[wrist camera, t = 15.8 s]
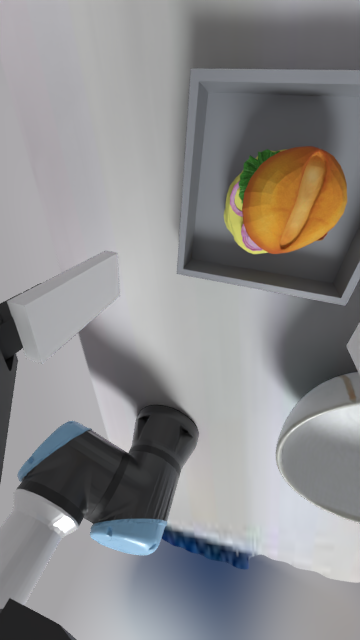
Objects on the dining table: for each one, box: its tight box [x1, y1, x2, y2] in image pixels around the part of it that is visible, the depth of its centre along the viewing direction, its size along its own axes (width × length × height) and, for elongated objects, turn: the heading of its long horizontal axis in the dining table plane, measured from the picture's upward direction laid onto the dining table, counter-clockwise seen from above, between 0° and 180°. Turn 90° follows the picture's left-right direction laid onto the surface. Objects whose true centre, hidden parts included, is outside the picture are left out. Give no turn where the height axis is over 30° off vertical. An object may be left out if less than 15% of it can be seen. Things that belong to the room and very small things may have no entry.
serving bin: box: [177, 68, 360, 306], centre depth 26 cm, size 19×20×5 cm
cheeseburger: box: [224, 146, 347, 254], centre depth 25 cm, size 10×11×10 cm
